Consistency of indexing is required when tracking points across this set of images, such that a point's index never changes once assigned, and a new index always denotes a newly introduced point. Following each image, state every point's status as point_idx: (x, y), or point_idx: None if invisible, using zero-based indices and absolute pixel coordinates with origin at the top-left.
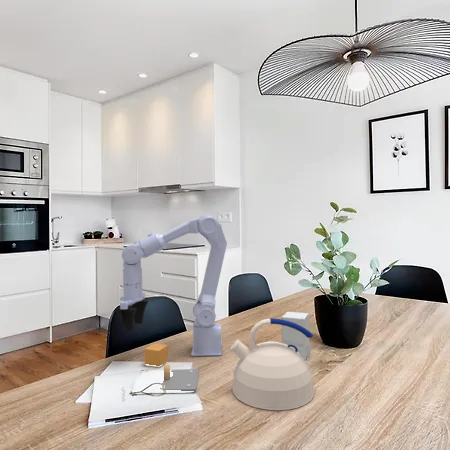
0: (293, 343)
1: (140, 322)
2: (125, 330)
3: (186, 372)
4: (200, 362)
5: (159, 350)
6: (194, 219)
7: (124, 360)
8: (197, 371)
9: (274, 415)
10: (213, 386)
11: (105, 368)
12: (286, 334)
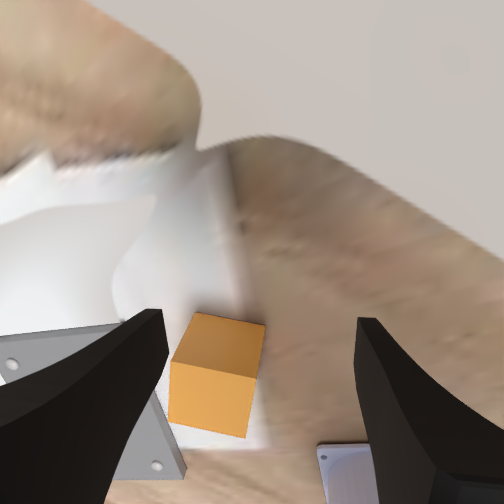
0: None
1: (354, 366)
2: (144, 312)
3: (149, 455)
4: (266, 468)
5: (171, 420)
6: None
7: (234, 204)
8: (165, 477)
9: None
10: (119, 497)
11: (124, 156)
12: None
